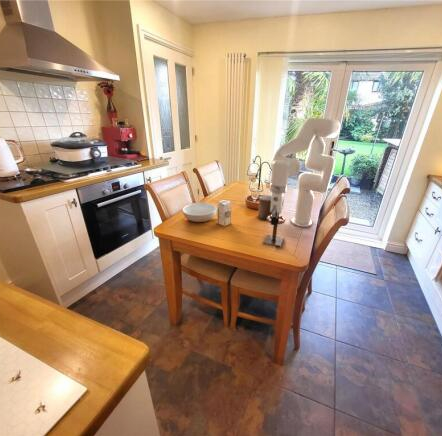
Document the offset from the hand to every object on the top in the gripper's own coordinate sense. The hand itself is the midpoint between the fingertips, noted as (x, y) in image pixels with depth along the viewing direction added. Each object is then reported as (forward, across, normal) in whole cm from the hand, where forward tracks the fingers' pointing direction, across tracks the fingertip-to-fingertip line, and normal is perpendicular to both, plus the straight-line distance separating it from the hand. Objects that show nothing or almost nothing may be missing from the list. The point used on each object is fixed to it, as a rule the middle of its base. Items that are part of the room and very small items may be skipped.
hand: (274, 223), depth 115 cm
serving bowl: (+13, +16, +49) cm, 53 cm away
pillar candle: (+13, +33, +11) cm, 37 cm away
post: (+13, +4, 0) cm, 13 cm away
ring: (-1, +4, 0) cm, 4 cm away
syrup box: (+13, +14, +32) cm, 37 cm away
